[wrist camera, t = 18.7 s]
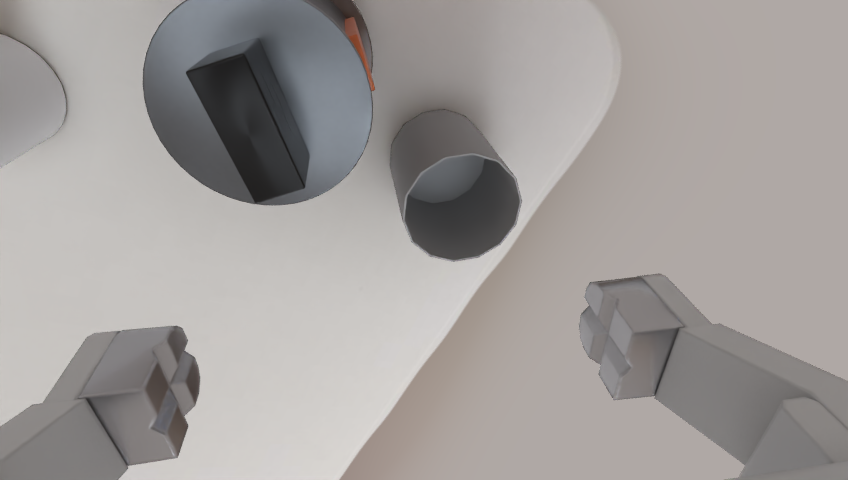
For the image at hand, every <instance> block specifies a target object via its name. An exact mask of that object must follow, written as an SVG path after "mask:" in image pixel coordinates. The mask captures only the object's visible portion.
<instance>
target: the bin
mask: <svg viewBox="0 0 848 480" xmlns="http://www.w3.org/2000/svg"><path fill="white" fill-rule="evenodd" d="M143 90H144V99H145V103H146V107H147V112H148V115H149V117H150V120H151V123H152V125H153V128H154V130H155V131H156V133H157V135H158V137H159V139H160V141H161V142H162V144H163V145H164V147H165V148H166V150H167V151H168V152H169V154H170V155H171V156H172V157H173V158H174V160H175V161H176V162H177V163H178V164H179V165H180V166H181V167H182V168H183V169H184V170H185V171H186V172H188V173H189V174H190V175H191V176H192V177H194V178H195V179H196V180H198V181H199V182H200V183H202V184H204V185H205V186H207V187H209V188H210V189H212V190H214V191H216V192H218V193H220V194H222V195H225V196H227V197H230V198H233V199H236V200H239V201H243V202H247V203H252V204H259V205H286V204H294V203H298V202H302V201H306V200H309V199H311V198H314V197H317V196H319V195H321V194H323V193H324V192H326V191H328V190H330V189H331V188H333V187H334V186H335V185H337V184H338V183H339V182H340V181H342V180H343V179H344V178H345V177H346V176H347V175H348V174H349V173H350V171H351V170H352V169H353V168H354V166H355V165H356V164H357V162H358V160H359V159H360V157H361V155H362V154H363V151H364V149H365V147H366V144H367V142H368V138H369V135H370V131H371V125H372V118H373V101H372V93H371V91H374V90H375V87H374V83H373V79H372V75H371V71H370V67H369V63H368V59H367V56H366V53H365V50H364V47H363V44H362V40H361V37H360V34H359V31H358V28H357V25H356V22H355V19H354V17H351V18H348V19H346V18H345V16H344V15H343V13H342V12H341V11H340V9H339V8H338V7H337V6H336V5H335V4H334V3H333V2H332V1H331V0H186V1H184V2H182V3H181V4H180V5H178V6H177V7H176V8H175V9H174V10H173V11H172V12H170V13H169V14H168V15H167V17H166V18H165V19H164V20H163V22H162V23H161V24H160V25H159V27H158V29H157V30H156V32H155V34H154V36H153V37H152V39H151V42H150V45H149V47H148V50H147V53H146V58H145V63H144V68H143Z"/></svg>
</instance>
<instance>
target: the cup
mask: <svg viewBox="0 0 848 480" xmlns="http://www.w3.org/2000/svg"><path fill="white" fill-rule="evenodd" d="M390 168H391V173H392V177H393V181H394V186H395V190H396V194H397V199H398V203H399V207H400V212H401V216H402V220H403V223H404V225H405V228H406V230H407V232H408V235H409V237H410V239H411V242H412V243H413V244H415V245H416V246H417V247H419V248H420V249H421V250H422V251H424V252H425V253H426V254H427V255H429V256H430V257H435V258H439V259H444V260H448V261H453V262H455V261H461V260H467V259H472V258H478V257H480V256H482V255H484V254H485V253H487V252H489V251H490V250H492V249H494V248H495V247H497V246H499V245H500V244H501V243H502V242H503V241H504V239H505V238H506V237H507V236H508V234H509V233H510V232H511V231H512V229H513V228H514V227H515V225H516V223H517V219H518V215H519V211H520V207H521V203H522V199H521V195H520V191H519V187H518V183H517V179H516V177H515V176H514V175H513V173H512V172H511V171H510V170H509V168H508V167H507V166H506V164H505V163H504V162H503V161H502V159H501V158H500V157H499V155H498V154H497V153H496V152H495V150H494V149H493V148H492V146H491V145H490V144H489V143H488V141H487V140H486V139H485V137H484V136H483V135H482V134H481V132H480V131H479V130H478V129H477V128H476V127H475V126H474V125H473V124H472V123H471V122H470V121H469V120H468V119H467V118H466V116H463V115H460V114H457V113H454V112H451V111H448V110H445V109H444V110H437V111H431V112H424V113H421V114H420V115H418V116H417V117H415V118H414V119H412V120H411V121H409V122H408V123H406V124H404V125H403V126H402V128H401V130H400V131H399V133H398V135H397V136H396V138H395V140H394V141H393V143H392V146H391V157H390Z"/></svg>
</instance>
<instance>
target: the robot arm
mask: <svg viewBox="0 0 848 480" xmlns="http://www.w3.org/2000/svg"><path fill="white" fill-rule="evenodd" d="M584 298H585V299H586V301H587V302H588V304H589V306H588V307H587V308H586V309H585V311H584V312H583V313H582V314H581V317H580V324H579V330H580V338H581V342H582V345H583V348H584V350H585V351H586V353H587V355H588V357H589V358H590V359H592V360H594V361H595V362H597V363H598V364H600V365H601V366H600V370H599V376H600V378H601V379H602V381H603V383H604V384H605V386H606V388H607V389H608V391H609V393H610V395H611V396H612V398H613V400H620V399H630V398H639V397H649V396H655V399H656V400H658V401H659V402H661V403H662V404H663V405H665V406H666V407H667V408H669V409H670V410H671V411H673V412H674V413H675V414H677V415H678V416H680V417H681V418H682V419H683V420H685V421H686V422H688V423H689V424H690V425H692V426H693V427H694V428H696V429H697V430H698V431H700V432H701V433H702V434H704V435H705V436H706V437H708V438H709V439H711V440H712V441H713V442H714V443H716V444H717V445H719V446H720V447H721V448H723V449H724V450H725V451H727V452H728V453H730V454H731V455H732V456H733V457H735V458H736V459H737V460H739V461H740V462H742V463H743V464H744V465H745V467H744V469H743V470H742V472H741V474H740V475H739V477H738V478H733V479H726V480H848V381H846V380H844V379H842V378H840V377H837V376H835V375H833V374H831V373H828V372H826V371H824V370H822V369H820V368H817V367H815V366H813V365H811V364H808V363H806V362H804V361H801V360H799V359H797V358H795V357H792V356H791V355H788V354H786V353H784V352H782V351H779V350H777V349H775V348H773V347H771V346H768V345H766V344H764V343H762V342H760V341H757V340H755V339H753V338H751V337H748V336H746V335H744V334H742V333H739V332H737V331H735V330H733V329H730V328H728V327H726V326H724V325H722V324H712V323H711V322H710V321H709V320H708V319H707V318H706V317H705V316H704V315H703V314H702V313H701V312H700V311H699V310H698V309H697V308H696V307H695V306H694V305H693V304H692V303H691V302H690V301H689V300H688V299H687V297H685V295H684V294H683V293H682V292H681V291H680V290H679V289H678V288H677V287H676V286H675V285H674V284H673V283H672V282H671V281H670V280H669V279H668V278H667V277H666V276H664V275H662V274H653V275H644V276H637V277H634V278H624V279H615V280H606V281H598V282H590V283H589V285H588V287H587V288H586V293H585V297H584ZM187 342H188V339H187V337H186V335H185V333H184V331H183V329H182V328H181V327H178V326H167V327H155V328H143V329H131V330H122V331H112V332H101V333H94V334H92V335H90V336H88V337H87V338H86V339H85V341H84V342H83V344H82V345H81V347H80V348H79V349H78V351H77V352H76V354H75V355H74V357H73V358H72V360H71V361H70V363H69V364H68V366H67V367H66V369H65V370H64V372H63V373H62V375H61V376H60V378H59V379H58V381H57V382H56V384H55V385H54V387H53V388H52V390H51V391H50V393H49V394H48V396H47V397H46V399H45V400H44V402H43V403H41V404H34V405H31V406H30V407H28V408H27V409H25V410H24V411H23V412H21V413H20V414H18V415H17V416H15V417H14V418H12V419H11V420H9V421H8V422H6V423H5V424H4V425H2V426H1V427H0V480H118V479H119V478H120V477H121V476H122V475H123V474H124V473H125V471H126V470H127V469H128V466H129V465H136V464H142V463H148V462H155V461H161V460H167V459H173V458H178V455H179V452H180V449H181V446H182V443H183V440H184V437H185V435H186V432H187V429H188V424H187V422H186V419H185V417H184V416H185V415H186V414H187V413H188V412H189V411H190V410H191V409H192V408H193V407H194V406H195V404H196V401H197V398H198V395H199V387H200V374H199V368H198V365H197V362H196V359H195V357H193V356H192V355H190V354H189V353H187V352H186V351H184V350H185V347H186V345H187Z"/></svg>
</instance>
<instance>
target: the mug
mask: <svg viewBox="0 0 848 480" xmlns="http://www.w3.org/2000/svg"><path fill="white" fill-rule="evenodd" d="M65 115H66V97H65V94H64V91H63V88H62V85H61V83H60V81H59V79H58V78H57V76H56V75H55V73H54V71H53V70H52V69H51V67H50V66H49V65H48V64H47V63H46V62H45V61H44V60H43V59H42V58H41V57H40V56H39V55H38V54H36V53H35V52H34V51H32V50H31V49H30V48H28V47H27V46H26V45H24V44H22V43H20V42H18V41H16V40H14V39H12V38H10V37H8V36H6V35H2V34H0V168H2V167H3V166H5V165H7V164H8V163H10V162H11V161H13V160H14V159H16V158H18V157H19V156H21V155H22V154H24V153H26V152H27V151H29V150H30V149H32V148H34V147H35V146H37V145H38V144H40V143H42V142H43V141H45V140H46V139H48V138H49V137H51V136H53V135H54V134H55V133H56V132H57V131H58V129H59V128H60V127H61V126H62V124H63V121H64V118H65Z"/></svg>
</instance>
